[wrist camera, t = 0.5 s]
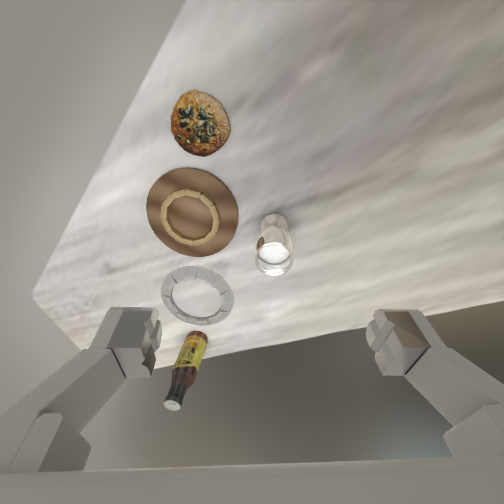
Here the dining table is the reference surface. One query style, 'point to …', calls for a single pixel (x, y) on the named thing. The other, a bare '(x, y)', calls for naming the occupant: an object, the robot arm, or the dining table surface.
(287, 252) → the beer glass
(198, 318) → the ring
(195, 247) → the round tray
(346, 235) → the dining table surface
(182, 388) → the sauce bottle
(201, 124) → the bread roll
